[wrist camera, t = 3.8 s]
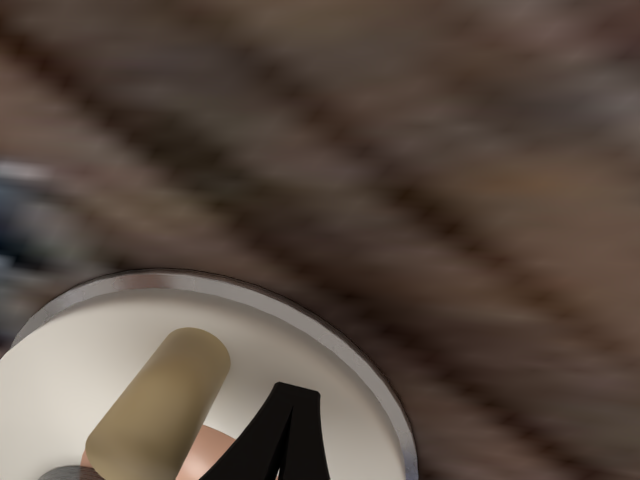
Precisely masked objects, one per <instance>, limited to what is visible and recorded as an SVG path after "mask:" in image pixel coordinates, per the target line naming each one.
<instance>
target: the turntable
mask: <svg viewBox="0 0 640 480" xmlns="http://www.w3.org/2000/svg"><path fill="white" fill-rule="evenodd" d="M277 382H283V383H287V384H291V385H295V386H299V387H303V388H307V389H311V390H315V391H318V392H319V393H320V395H321V398H320V416H321V427H322V436H323V443H324V449H325V455H326V461H327V466H328V471H329V475H330V480H406V472H405V461H404V456H403V452H402V449H401V445H400V441H399V438H398V436H397V433H396V431H395V429H394V427H393V425H392V422H391V420H390V418H389V416H388V414H387V413H386V411H385V410H384V408H383V407H382V405H381V403H380V402H379V400H378V399H377V397H376V396H375V394H374V393H373V392H372V391H371V389H370V388H369V387H368V386H367V385H366V384H365V383H364V381H363V380H362V379H361V378H360V377H359V376H358V374H357V373H356V372H355V371H354V370H353V369H352V368H350V367H349V366H348V365H347V364H346V363H345V362H344V361H343V360H342V359H340V358H339V357H338V356H337V355H336V354H335V353H334V352H333V351H331V350H330V349H328V348H327V347H325V346H324V345H323V344H321V343H320V342H318V341H317V340H316V339H314V338H313V337H311V336H310V335H309V334H307V333H305V332H304V331H302V330H300V329H298V328H296V327H295V326H293V325H291V324H289V323H287V322H285V321H284V320H282V319H280V318H278V317H276V316H273V315H271V314H269V313H266V312H264V311H261V310H259V309H257V308H254V307H252V306H250V305H247V304H243V303H240V302H237V301H233V300H230V299H227V298H223V297H220V296H216V295H211V294H205V293H200V292H194V291H189V290H178V289H163V288H146V289H130V290H122V291H117V292H112V293H107V294H102V295H98V296H95V297H92V298H89V299H86V300H84V301H81V302H78V303H75V304H73V305H72V306H70V307H68V308H66V309H64V310H63V311H61V312H59V313H57V314H55V315H54V316H53V317H51V318H50V319H49V320H47V321H46V322H45V323H44V324H42V325H41V326H40V327H38V328H37V329H36V330H34V331H33V332H32V333H31V334H29V335H28V336H27V337H25V338H24V339H23V340H22V341H20V342H19V343H18V344H17V345H15V346H14V347H13V348H12V349H11V350H9V351H8V352H7V353H6V354H5V355H4V356H3V357H2V359H1V360H0V480H38V479H39V478H40V477H41V476H42V475H43V474H45V473H47V472H48V471H51V470H54V469H57V468H62V467H71V466H77V467H88V468H94V469H95V471H96V472H97V473H98V474H99V475H100V476H101V477H103V478H104V479H105V480H199V479H200V478H201V477H202V476H203V475H204V474H205V473H206V472H207V471H208V470H209V469H210V468H211V467H212V466H213V465H214V464H215V463H216V462H217V461H218V459H219V458H220V457H221V456H222V455H223V454H224V453H225V452H226V451H227V449H228V448H229V447H230V446H231V445H232V444H233V443H234V441H235V440H236V439H237V438H238V437H239V436H240V434H241V433H242V432H243V431H244V429H245V428H246V427H247V425H248V424H249V423H250V422H251V420H252V419H253V418H254V416H255V415H256V414H257V412H258V411H259V409H260V408H261V406H262V405H263V404H264V402H265V400H266V399H267V397H268V396H269V394H270V392H271V390H272V388H273V386H274V384H275V383H277ZM278 475H279V471H278V474H277V477H276V480H278Z"/></svg>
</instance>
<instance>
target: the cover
mask: <svg viewBox="0 0 640 480" xmlns="http://www.w3.org/2000/svg"><path fill="white" fill-rule="evenodd" d="M38 480H105V479H104V478H103V477H101V476H100V475H99V474H98V473H97V472H96V471H95V469H94V468H88V467H77V466H71V467H62V468H57V469H54V470H51V471H48V472H47V473H45V474H43V475H42V476H41V477H40V478H39V479H38Z"/></svg>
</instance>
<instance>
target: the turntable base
mask: <svg viewBox="0 0 640 480" xmlns="http://www.w3.org/2000/svg"><path fill="white" fill-rule="evenodd" d="M146 288H163V289H178V290H189V291H194V292H200V293H205V294H211V295H216V296H220V297H223V298H227V299H230V300H233V301H237V302H240V303H243V304H247V305H250V306H252V307H254V308H257V309H259V310H261V311H264V312H266V313H269V314H271V315H273V316H276V317H278V318H280V319H282V320H284V321H285V322H287V323H289V324H291V325H293V326H295V327H296V328H298V329H300V330H302V331H304V332H305V333H307V334H309V335H310V336H311V337H313V338H314V339H316V340H317V341H318V342H320V343H321V344H323V345H324V346H325V347H327V348H328V349H330V350H331V351H333V352H334V353H335V354H336V355H337V356H338V357H339V358H340V359H342V360H343V361H344V362H345V363H346V364H347V365H348V366H349V367H350V368H352V369H353V370H354V371H355V372H356V373H357V374H358V376H359V377H360V378H361V379H362V380H363V381H364V383H365V384H366V385H367V386H368V387H369V388H370V389H371V391H372V392H373V393H374V394H375V396H376V397H377V399H378V400H379V402H380V403H381V405H382V407H383V408H384V410H385V411H386V413H387V414H388V416H389V418H390V420H391V422H392V425H393V427H394V429H395V431H396V433H397V436H398V438H399V441H400V445H401V449H402V452H403V456H404V461H405V472H406V480H418V466H417V453H416V445H415V441H414V437H413V433H412V429H411V425H410V422H409V420H408V418H407V415H406V413H405V411H404V409H403V406H402V404H401V402H400V400H399V398H398V397H397V395H396V394H395V392H394V390H393V389H392V387H391V386H390V384H389V382H388V381H387V379H386V378H385V376H384V375H383V374H382V373H381V372H380V371H379V369H378V368H377V367H376V366H375V365H374V363H373V362H372V361H371V360H370V359H369V357H368V356H367V355H366V354H365V353H364V352H363V351H361V350H360V349H359V348H358V347H357V346H356V345H355V344H354V343H353V342H352V341H351V340H349V339H348V338H347V337H346V336H345V335H344V334H343V333H341V332H340V331H339V330H337V329H336V328H334V327H333V326H332V325H330V324H329V323H327V322H326V321H325V320H323V319H322V318H321V317H319V316H318V315H316V314H314V313H313V312H311V311H309V310H307V309H305V308H304V307H302V306H300V305H298V304H297V303H295V302H293V301H291V300H289V299H287V298H285V297H283V296H280V295H278V294H276V293H273V292H271V291H269V290H266V289H264V288H261V287H259V286H257V285H253V284H250V283H247V282H243V281H240V280H237V279H233V278H230V277H226V276H222V275H217V274H211V273H205V272H200V271H194V270H182V269H165V268H156V269H141V270H129V271H124V272H119V273H114V274H110V275H105V276H101V277H98V278H96V279H93V280H90V281H88V282H85V283H82V284H79V285H77V286H75V287H74V288H72V289H70V290H68V291H67V292H65V293H63V294H61V295H60V296H58V297H56V298H55V299H53V300H52V301H51V302H49V303H48V304H47V305H45V306H44V307H43V308H42V309H41V310H40V311H38V312H37V313H36V314H35V315H34V316H33V317H31V318H30V319H29V321H28V322H27V323H26V324H25V326H24V327H23V328H22V329H21V331H20V332H19V333H18V334H17V336H16V338H15V340H14V342H13V344H12V346H11V348H10V350H11V349H12V348H13V347H14V346H15V345H17V344H18V343H19V342H20V341H22V340H23V339H24V338H25V337H27V336H28V335H29V334H31V333H32V332H33V331H34V330H36V329H37V328H38V327H40V326H41V325H42V324H44V323H45V322H46V321H47V320H49V319H50V318H51V317H53V316H54V315H55V314H57V313H59V312H61V311H63V310H64V309H66V308H68V307H70V306H72V305H73V304H75V303H78V302H81V301H84V300H86V299H89V298H92V297H95V296H98V295H102V294H107V293H112V292H117V291H122V290H130V289H146Z"/></svg>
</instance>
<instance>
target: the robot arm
mask: <svg viewBox="0 0 640 480" xmlns="http://www.w3.org/2000/svg"><path fill="white" fill-rule="evenodd" d="M320 398H321V395H320V393H319V392H318V391H315V390H311V389H307V388H303V387H299V386H295V385H291V384H287V383H283V382H277V383H275V384H274V386H273V388H272V390H271V392H270V394H269V396H268V397H267V399H266V400H265V402H264V404H263V405H262V406H261V408H260V409H259V411H258V412H257V414H256V415H255V416H254V418H253V419H252V420H251V422H250V423H249V424H248V425H247V427H246V428H245V429H244V431H243V432H242V433H241V434H240V436H239V437H238V438H237V439H236V440H235V441H234V443H233V444H232V445H231V446H230V447H229V448H228V449H227V451H226V452H225V453H224V454H223V455H222V456H221V457H220V458H219V459H218V461H217V462H216V463H215V464H214V465H213V466H212V467H211V468H210V469H209V470H208V471H207V472H206V473H205V474H204V475H203V476H202V477H201V478H200V479H199V480H276V477H277V474H278V471H279V475H278V480H330V475H329V471H328V466H327V461H326V455H325V449H324V443H323V436H322V427H321V416H320Z"/></svg>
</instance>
